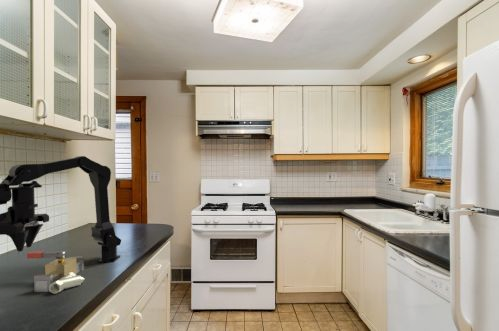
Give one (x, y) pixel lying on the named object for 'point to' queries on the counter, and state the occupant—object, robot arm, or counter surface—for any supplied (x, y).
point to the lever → (47, 254)
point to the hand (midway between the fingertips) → (24, 249)
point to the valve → (57, 272)
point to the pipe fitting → (66, 282)
